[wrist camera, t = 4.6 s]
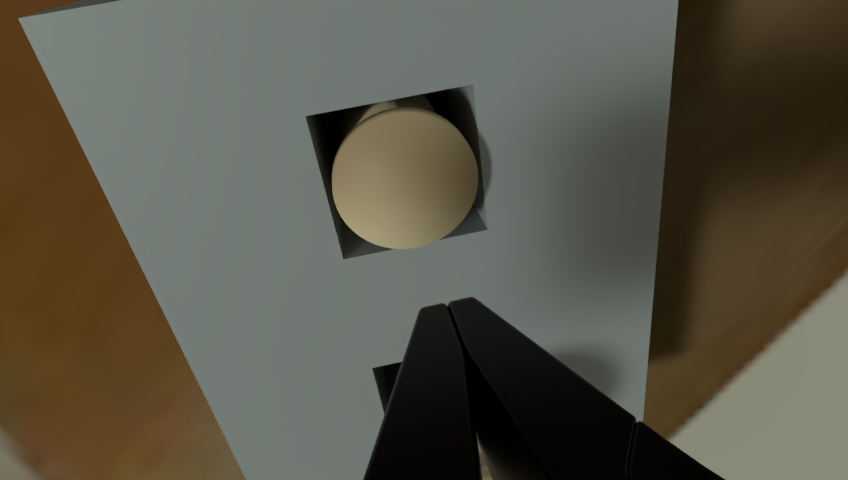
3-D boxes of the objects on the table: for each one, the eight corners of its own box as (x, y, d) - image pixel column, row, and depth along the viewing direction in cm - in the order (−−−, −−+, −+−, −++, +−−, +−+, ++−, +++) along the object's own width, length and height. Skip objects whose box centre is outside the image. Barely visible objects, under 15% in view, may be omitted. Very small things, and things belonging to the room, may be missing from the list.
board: (586, 362, 25) (640, 451, 21) (284, 429, 24) (274, 537, 20) (590, -92, 16) (687, -99, 12) (105, -7, 15) (18, 18, 11)
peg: (445, 158, 19) (484, 233, 14) (344, 178, 19) (349, 261, 14) (431, 53, 17) (470, 100, 13) (319, 74, 17) (315, 129, 12)
